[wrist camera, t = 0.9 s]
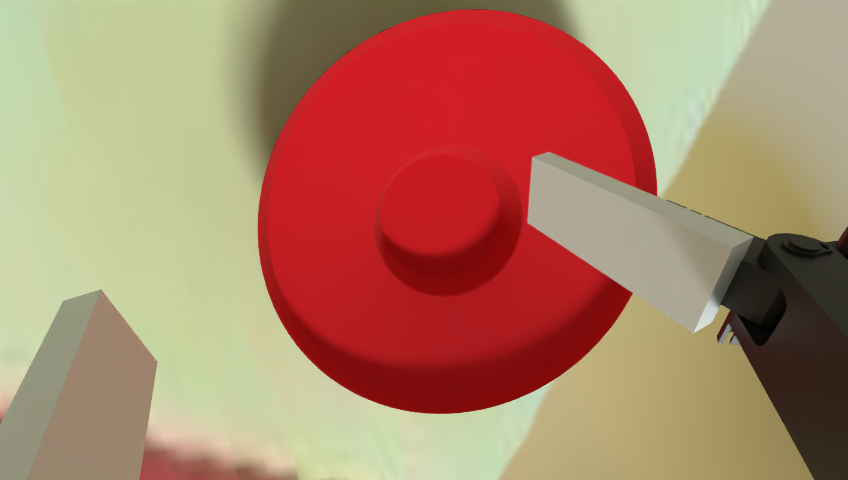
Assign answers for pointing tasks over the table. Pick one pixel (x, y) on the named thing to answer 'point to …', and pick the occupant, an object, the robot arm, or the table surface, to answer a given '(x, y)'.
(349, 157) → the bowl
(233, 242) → the table surface
